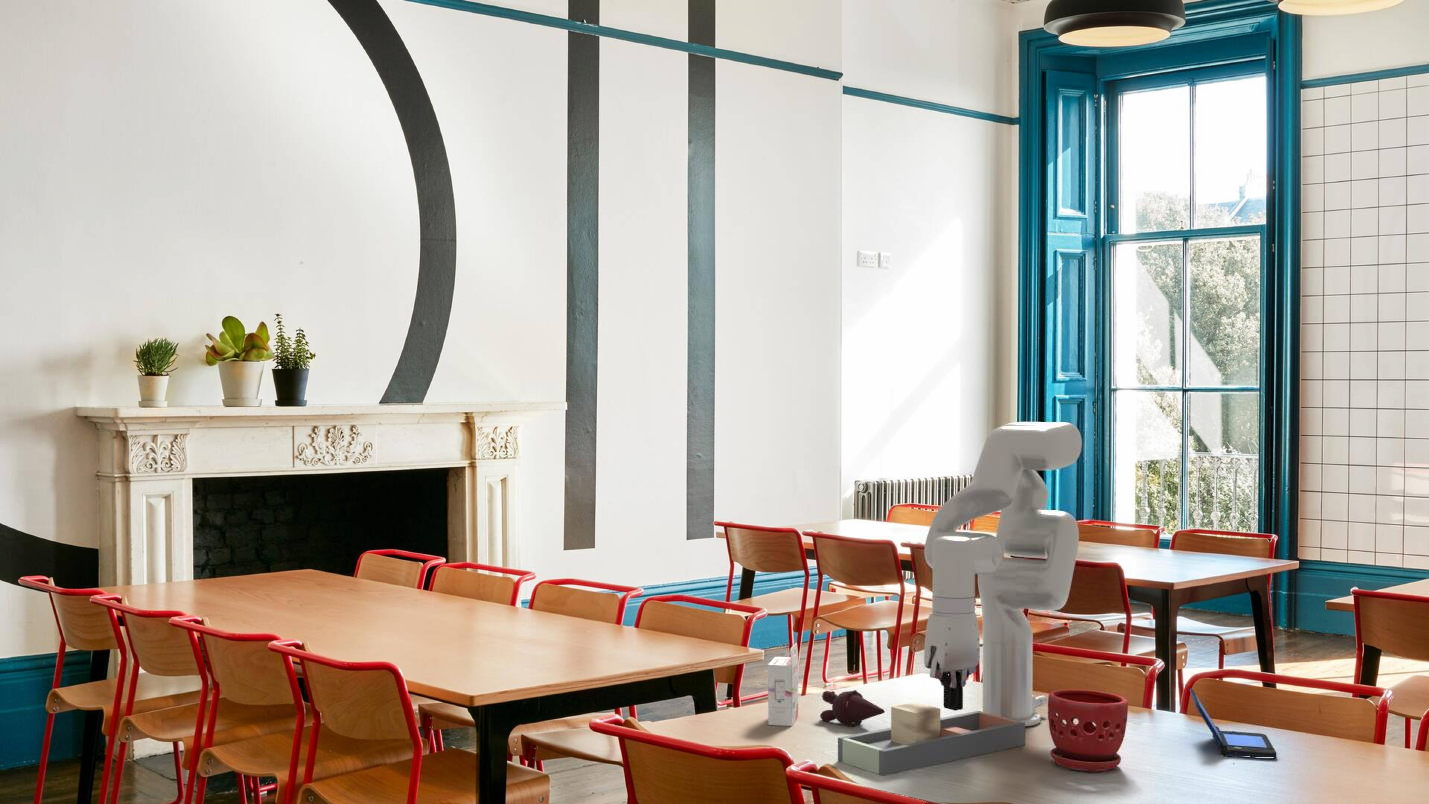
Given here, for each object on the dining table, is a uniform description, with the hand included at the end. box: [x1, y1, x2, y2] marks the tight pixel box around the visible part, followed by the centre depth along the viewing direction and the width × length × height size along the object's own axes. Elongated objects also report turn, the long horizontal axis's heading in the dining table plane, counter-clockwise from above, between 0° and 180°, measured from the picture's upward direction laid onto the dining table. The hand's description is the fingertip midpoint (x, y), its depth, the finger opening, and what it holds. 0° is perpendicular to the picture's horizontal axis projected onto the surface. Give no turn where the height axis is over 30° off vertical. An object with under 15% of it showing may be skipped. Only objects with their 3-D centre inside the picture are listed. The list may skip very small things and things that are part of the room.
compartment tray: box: [837, 710, 1026, 777], centre depth 235 cm, size 35×11×4 cm, turn 126°
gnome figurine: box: [819, 689, 886, 728], centre depth 255 cm, size 7×7×15 cm
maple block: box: [890, 702, 941, 745], centre depth 232 cm, size 6×6×6 cm
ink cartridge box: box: [767, 642, 799, 727], centre depth 258 cm, size 9×5×15 cm, turn 168°
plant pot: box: [1047, 688, 1129, 772], centre depth 227 cm, size 13×13×12 cm
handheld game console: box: [1189, 688, 1277, 758], centre depth 240 cm, size 16×13×9 cm
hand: (953, 708), depth 237 cm, fingers closed
